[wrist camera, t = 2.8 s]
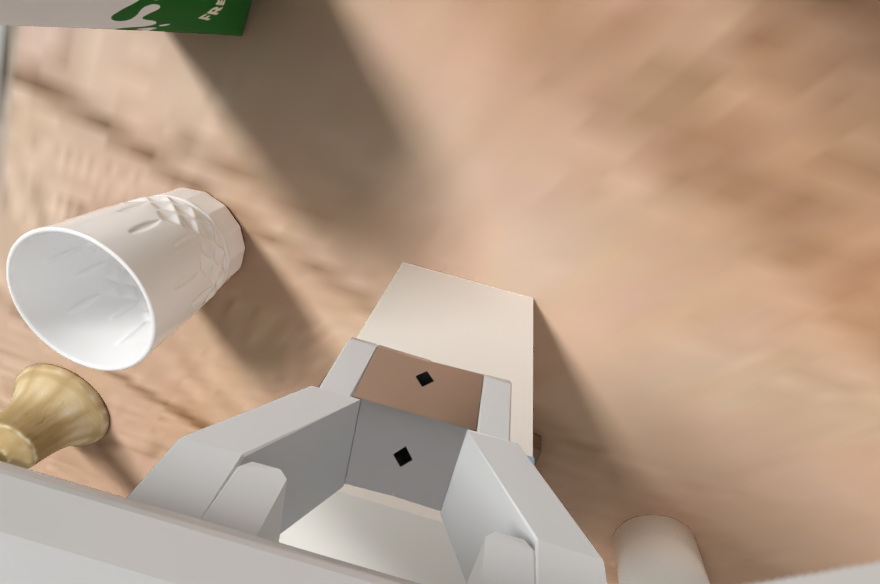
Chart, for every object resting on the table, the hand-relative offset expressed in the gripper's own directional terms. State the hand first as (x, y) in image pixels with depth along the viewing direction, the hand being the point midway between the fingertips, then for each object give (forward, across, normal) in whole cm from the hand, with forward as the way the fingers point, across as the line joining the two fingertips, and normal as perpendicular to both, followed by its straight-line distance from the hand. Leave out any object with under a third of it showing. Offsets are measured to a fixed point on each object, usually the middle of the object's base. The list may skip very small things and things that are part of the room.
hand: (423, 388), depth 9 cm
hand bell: (+22, +30, +29) cm, 47 cm away
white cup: (+22, +18, +10) cm, 30 cm away
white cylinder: (+22, -20, +25) cm, 38 cm away
